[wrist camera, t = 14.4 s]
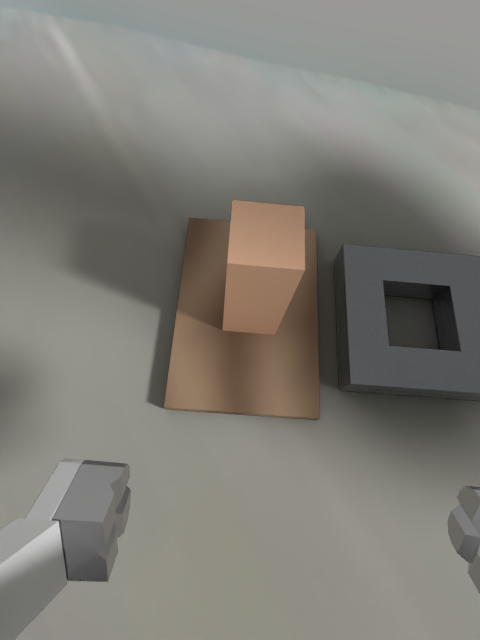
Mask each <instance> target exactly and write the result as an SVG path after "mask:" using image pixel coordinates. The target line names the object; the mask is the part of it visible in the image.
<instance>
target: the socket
mask: <svg viewBox="0 0 480 640" xmlns="http://www.w3.org/2000/svg"><path fill="white" fill-rule="evenodd" d="M334 272H335V296H336V321H337V345H338V370H339V390H340V391H353V392H367V393H380V394H394V395H407V396H421V397H434V398H448V399H461V400H475V401H480V256H469V255H458V254H447V253H436V252H425V251H414V250H403V249H392V248H381V247H370V246H359V245H347V244H343V246H342V247H341V249H340V251H339V253H338V254H337V256H336V258H335V259H334ZM384 295H388V296H400V297H412V298H423V299H433V306H434V313H435V319H436V326H437V333H438V339H439V346H440V350H436V349H423V348H411V347H398V346H389V339H388V329H387V318H386V308H385V297H384Z"/></svg>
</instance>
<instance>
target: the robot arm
mask: <svg viewBox="0 0 480 640" xmlns="http://www.w3.org/2000/svg"><path fill="white" fill-rule="evenodd" d="M129 477H130V470H129V465H128V464H125V463H114V462H103V461H92V460H77V459H66V458H64V459H63V460H62V461H61V462H60V463H58V465H57V467H56V468H55V470H54V472H53V473H52V475H51V476H50V478H49V480H48V481H47V483H46V485H45V486H44V488H43V490H42V491H41V493H40V494H39V496H38V498H37V499H36V501H35V503H34V504H33V506H32V507H31V509H30V511H29V512H28V514H27V516H26V517H25V519H23V518H17V519H16V520H14V521H13V522H12V523H10V524H9V525H7V526H6V527H4V528H3V529H1V530H0V640H15V639H16V638H17V637H18V635H19V634H20V633H21V632H22V631H23V630H24V629H25V628H26V627H27V626H28V625H29V624H30V623H31V622H32V621H33V620H34V619H35V617H36V616H37V615H38V614H39V613H40V612H41V611H42V610H43V609H44V608H45V607H46V606H47V605H48V604H49V603H50V602H51V601H52V600H53V598H54V597H55V596H56V595H57V594H58V593H59V592H60V591H61V590H62V589H63V588H64V587H65V586H66V585H67V581H95V582H108V580H109V577H110V574H111V571H112V568H113V565H114V562H115V558H116V555H117V552H118V547H117V538H118V537H120V536H121V535H122V534H123V533H124V530H125V527H126V523H127V520H128V514H129V509H130V500H131V490H130V489H129V488H128V487H127V483H128V480H129ZM457 498H458V501H459V503H460V505H459V506H457V507H456V508H454V509H453V510H452V511H451V513H450V516H449V518H448V533H449V537H450V540H451V543H452V545H453V546H454V548H455V550H456V552H457V554H459V555H460V556H461V557H462V558H463V559H465V560H466V561H467V562H468V563H469V566H468V574H469V575H470V577H471V579H472V581H473V582H474V584H475V586H476V588H477V590H478V591H479V593H480V487H472V486H465V487H464V488H462V489H461V490H460V492H459V494H458V496H457Z"/></svg>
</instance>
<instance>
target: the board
mask: <svg viewBox="0 0 480 640" xmlns="http://www.w3.org/2000/svg"><path fill="white" fill-rule="evenodd" d="M230 224H231V222H229V221H218V220H208V219H197V218H189V224H188V231H187V239H186V246H185V254H184V261H183V269H182V276H181V283H180V291H179V298H178V306H177V313H176V320H175V328H174V335H173V343H172V350H171V358H170V365H169V372H168V380H167V387H166V395H165V402H164V408H165V409H167V410H182V411H196V412H210V413H224V414H238V415H253V416H267V417H281V418H295V419H309V420H317V419H320V391H319V343H318V294H317V245H316V229H306V228H305V271H304V273H303V275H302V278H301V280H300V282H299V284H298V286H297V288H296V290H295V293H294V295H293V297H292V299H291V301H290V303H289V305H288V307H287V310H286V312H285V314H284V316H283V318H282V320H281V322H280V325H279V327H278V329H277V331H276V333H275V335H271V334H259V333H246V332H234V331H223V316H224V302H225V287H226V273H227V259H228V247H229V235H230Z"/></svg>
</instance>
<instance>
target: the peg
mask: <svg viewBox="0 0 480 640" xmlns="http://www.w3.org/2000/svg"><path fill="white" fill-rule="evenodd" d="M304 271H305V207H302V206H291V205H280V204H270V203H259V202H249V201H238V200H232V212H231V224H230V235H229V247H228V259H227V273H226V287H225V302H224V316H223V331H234V332H246V333H259V334H271V335H275V333H276V331H277V329H278V327H279V325H280V322H281V320H282V318H283V316H284V314H285V312H286V310H287V307H288V305H289V303H290V301H291V299H292V297H293V295H294V293H295V290H296V288H297V286H298V284H299V282H300V280H301V278H302V275H303V273H304Z"/></svg>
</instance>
